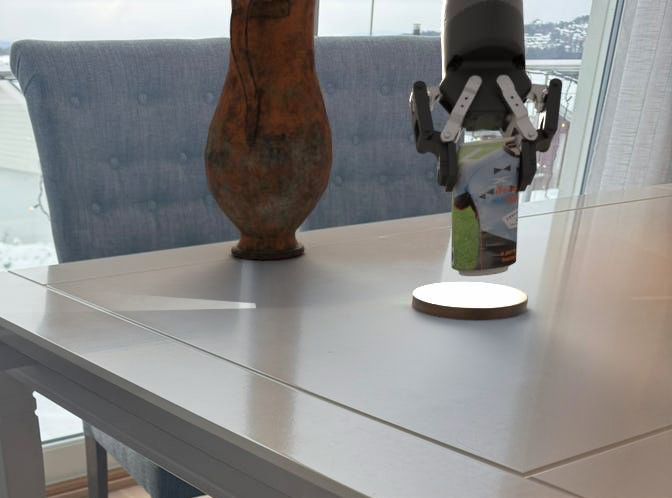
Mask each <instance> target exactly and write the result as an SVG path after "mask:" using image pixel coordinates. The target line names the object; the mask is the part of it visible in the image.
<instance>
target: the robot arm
mask: <svg viewBox="0 0 672 498" xmlns="http://www.w3.org/2000/svg"><path fill="white" fill-rule="evenodd" d="M442 2H443V4H442V9H441V18H440V21H441V26H440V31H439V33H440V35H439V37H440V41H441V62H442V63H441V65H442V66H441V67H442V68H441V69H442V70H441V71H442V72H441V73H442V80H441V81H440V83H439V85H433V86H427V83H426V82H424V81H423V80H416V81H414V83H413V85H412V89H411V94H410V98H409V103H408V109H409V115H410V120H411V125H412V126H411V127H412V132H413V137H414V143H415V148H416V149H415V150H416V151H417V153H418V154H420V155H425V154H427V153H430V154H432V155H434V156H435V157H436V182H437V184H438V185H439V187H443V190H444V193H452V192H453V189H454V185H455V182H456V176H457V171H456V153H457V143H458V141H459V139H460V137H461V135H462V133H463V131H464V129H465V132H476V131H481V130H485V131H490V132H499V134H500V135H501V138H505V137H514V143H515V144H516V146H517V147H518V149H519V151H520V170H519V183H518V192H519V193H520V192H526V191H527V188H528V186H531V185H532V183H533V181H534V178H535V176H536V173H537V170H538V163H537V159H538V158H537V153H538V152H539V153H541V154H543V153H547V152H548V151H549V150H550V148H551V145H552V142H553V140H554V137H555V136H556V134H557V131H558V127H559V119H560V110H561V101H562V93H563V92H562V91H563V81H562V80H561V79H560V78H557V77H554V78H551V79H550V80H549V82H548V84H539V83H532V82H533V81H532V79H531V77H529V75H528V73H527V70H526V67H527V66H526V63H527V62H526V61H527V60H526V41H525V39H526V38H525V18H524V17H525V16H524V0H442ZM528 100H530V101H531V102H532V103H533V107H534V109H535V113H536V114H539V119H538V120H539V121H538V129H536V127H535V126H534V124H533V123H532V121H531V120H530V118H529V110H528V108H527V107H526V105H525V104H526V102H527V101H528ZM437 102H438V104H439V105H440V106H441V107H442V109H444V111H445V112H446V113H447V114H448V115H449V118H448V120H447V122H446V123H445V126H444V127H443V129H442V131H440V130H439V131H438V130H436V129H435V128H434V127H435V126H434V121H433V116H432V111H433V110H434V106H435V104H436V103H437Z"/></svg>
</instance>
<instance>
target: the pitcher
mask: <svg viewBox="0 0 672 498" xmlns="http://www.w3.org/2000/svg"><path fill="white" fill-rule="evenodd" d="M316 2H317V0H230V6H231V7H230V8H231V13H230V19H229V44H230V45H229V46H230V50H229V60H228V61H229V62H228V69H227V73H226V76H225V79H224V83H223V86H222V89H221V92H220V95H219V98H218V101H217V104H216V106H215V110H214V113H213V115H212V117H211V120H210V124H209V126H208V131H207V137H206V143H205V149H204V154H203V158H204V159H203V161H204V169H205V179H206V187H207V189H208V190H209V192H210V193H211V195H212V197H213V199H214V200H215V202H216V204H217V205H218V207H219V209H220V210H221V212H222V213H223V214H224V215H225V216H226V217H227V219H228V220H229V221H230V222H231V223H232V224H233V225H234V226H235V228H236V229H237V231H239V233H240V238H239V239H238V242H237V243H235V244H233V245H232V246H231V249H230V252H231V255H232V254H233V255H232V256H234V255H235V256H238V257H237V258H239V257H241V258H240V259H243V258H246V259H245V260H249V259H259V260H258V261H277V260H276V259H278V260H286V259H291V258H294V257H298V256H300V255H302V254H303V253H304V252H305V250H306V249H305V245H304V244H303V243H302V242H300V241H299V240H298V239H297V237H296V233H297V230H298V229H299V228H300V227H301V226H302V225H303V224H304V222H305V221H306V220H307V218H308V217H309V216H310V215H311V214H312V213H313V211H314V210H315V208H316V206H317V205H318V203H319V202H320V200H321V198H322V196H323V195H324V193H325V192H326V190H327V188H328V186H329V180H330V175H331V171H332V166H333V161H334V150H333V136H332V127H331V122H330V118H329V114H328V108H327V104H326V99H325V96H324V93H323V89H322V85H321V83H320V79H319V76H318V72H317V68H316V54H315V53H316V52H315V37H314V36H315V15H316V14H315V12H316ZM297 255H298V256H297ZM235 256H234V257H235ZM290 257H291V258H290ZM285 258H286V259H285Z"/></svg>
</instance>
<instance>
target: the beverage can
mask: <svg viewBox="0 0 672 498" xmlns="http://www.w3.org/2000/svg"><path fill="white" fill-rule="evenodd" d="M519 170H520V151H519V149H518V147H517V146H516V144H515V143H514V137H505V138H503V137H498V138H489V139H481V140H474V141H466V142H461V143H458V150H456V171H457V176H456V182H455V185H454V189H453V192H451V251H450V252H451V253H450V254H451V259H450V261H451V262H450V265H451V267H450V268H451V269H452V270H455V271H457V272H458V275H460V276H463V277H484V276H492V275H497V274H502V273H505V272H507V271H508V270H509V267H510V266H513V265H514V264H515V263H516V262H517V252H518V251H517V249H518V226H519V225H518V222H519V199H520V191H519V192H518V183H519Z"/></svg>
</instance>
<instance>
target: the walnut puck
mask: <svg viewBox="0 0 672 498" xmlns="http://www.w3.org/2000/svg"><path fill="white" fill-rule="evenodd" d="M411 299H412V300H411V307H412V309H414V310H415V311H417V312H419V313H422V314H424V315H427V316H431V317H436V318H441V319H449V320H456V321H457V320H458V321H496V320H505V319H511V318H515V317H518V316H521V315H523V314H524V313H526V311H527V307H528V301H529V295H528V294H527V293H526V292H524V291H523V290H520V289H517V288H514V287H512V286H511V287H510V286H508V285H507V286H506V285H501V284H495V283H487V282H473V281H472V282H471V281H455V282H454V281H453V282H440V283H432V284H427V285H424V286H423V285H422V286H421V287H418V288H416V289H415V290H413V293H412V298H411Z"/></svg>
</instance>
